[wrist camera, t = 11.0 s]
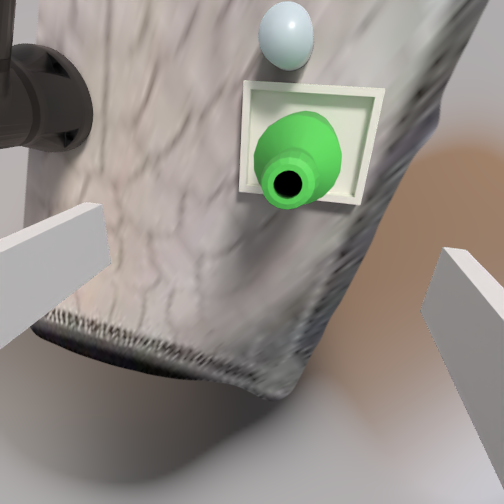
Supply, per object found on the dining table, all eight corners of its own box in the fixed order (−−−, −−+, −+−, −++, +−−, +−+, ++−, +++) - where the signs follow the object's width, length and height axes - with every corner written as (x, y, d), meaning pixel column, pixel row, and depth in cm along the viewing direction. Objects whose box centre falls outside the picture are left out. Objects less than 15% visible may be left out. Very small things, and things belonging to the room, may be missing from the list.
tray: (242, 187, 51) (238, 191, 49) (247, 81, 44) (243, 80, 42) (358, 200, 48) (360, 205, 46) (382, 89, 42) (385, 88, 40)
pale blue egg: (266, 69, 44) (256, 64, 37) (269, 15, 41) (260, 0, 35) (310, 72, 43) (308, 67, 36) (317, 17, 40) (316, 1, 34)
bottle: (291, 185, 49) (265, 256, 26) (262, 132, 46) (207, 162, 24) (346, 155, 45) (370, 208, 23) (318, 97, 43) (315, 93, 21)
